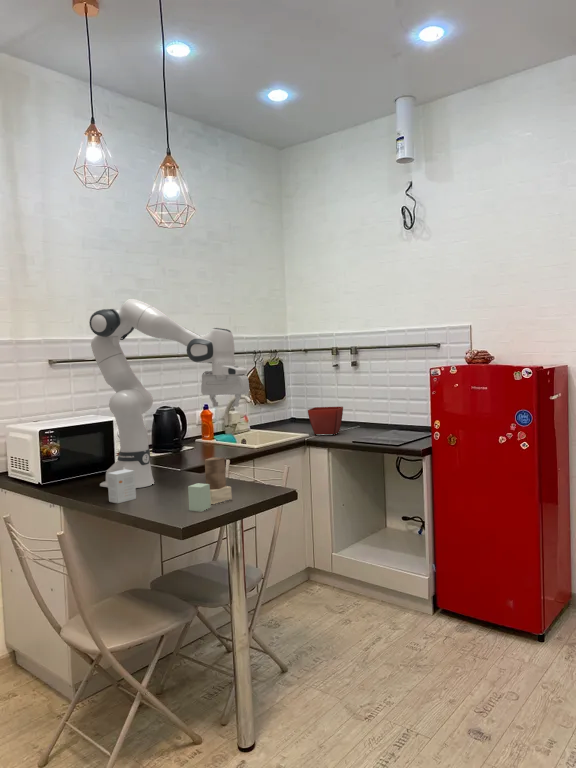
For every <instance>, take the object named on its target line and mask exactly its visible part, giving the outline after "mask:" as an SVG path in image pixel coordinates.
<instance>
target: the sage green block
mask: <svg viewBox="0 0 576 768" xmlns="http://www.w3.org/2000/svg"><path fill="white" fill-rule="evenodd" d="M187 491H188V492H187V493H188V510H189V512H190V511H191V512H201V513H202V512H205V511H207V510H209V509H208V508H210V507H211V508H212V505H211V503H210V484H206V483H202V482H200V483H199V482H198V483H194V484H191V485H188V486H187ZM211 508H210V509H211ZM206 509H207V510H206ZM204 510H205V511H204Z"/></svg>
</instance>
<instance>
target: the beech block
mask: <svg viewBox="0 0 576 768" xmlns="http://www.w3.org/2000/svg"><path fill="white" fill-rule="evenodd" d="M232 496H233V493H232V486H228V485H226V486H225V487H223V488H221V489H210V503H211V504H215V503H218V502H222V501H225V500H229V499H232V500H233V497H232Z"/></svg>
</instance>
